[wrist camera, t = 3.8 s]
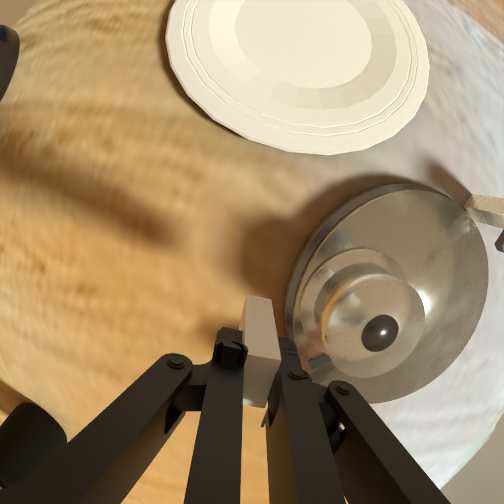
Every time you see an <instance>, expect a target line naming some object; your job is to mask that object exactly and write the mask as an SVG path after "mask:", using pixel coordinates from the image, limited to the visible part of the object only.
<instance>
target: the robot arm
mask: <svg viewBox="0 0 504 504" xmlns="http://www.w3.org/2000/svg"><path fill="white" fill-rule="evenodd" d="M18 54H19V37H18V34H17V32H16V31H15V30H13V29H11V28H9V27H7V26H5V25H0V100H1V99H2V97H3V95H4V93H5V91H6V89H7V87H8V84H9V82H10V80H11V77H12V75H13V72H14V69H15V66H16V62H17V59H18ZM267 400H268V408H267V411H266V414H265V416H264V419H263V421H262V424H261V427H264V424H265V423H266V442H267V462H268V482H269V502H270V504H346V502H345V498H346V500H347V501H348V503H349V504H451V503H450V502H449V501H448V500H447V498H446V497H445V496H444V495H443V494H442V492H441V491H440V490H439V489H438V488H437V486H436V485H435V484H434V483H433V482H432V480H431V479H430V478H429V477H428V476H427V474H426V473H425V472H424V471H423V470H422V468H421V467H420V466H419V465H418V463H417V462H416V461H415V460H414V459H413V457H412V456H411V455H410V454H409V453H408V451H407V450H406V449H405V448H404V447H403V445H402V444H401V443H400V442H399V440H398V439H397V438H396V437H395V436H394V434H393V433H392V432H391V431H390V429H389V428H388V427H387V426H386V425H385V423H384V422H383V421H382V420H381V419H380V417H379V416H378V415H377V414H376V412H375V411H374V410H373V409H372V408H371V406H370V405H369V404H368V403H367V401H366V400H365V399H364V398H363V397H362V395H361V394H360V393H359V392H358V390H357V389H356V388H355V387H354V386H353V385H352V384H350V383H348V382H346V381H342V380H334V381H331V382H330V383H329V385H328V387H326V386H323V385H320V384H317V383H314V382H312V379H311V376H310V374H309V373H308V372H307V371H305V370H304V369H302V365H301V362H300V358H299V354H298V352H297V347H296V344H295V343H294V342H293V341H292V340H291V339H286V338H281V337H277V331H276V325H275V319H274V313H273V307H272V302H271V299H267V298H262V297H257V296H252V295H246V299H245V303H244V307H243V311H242V316H241V320H240V324H239V328H238V330H235V329H230V328H225V327H223V328H221V329H220V330H219V331H218V334H217V339H216V343H215V347H214V352H213V357H212V360H211V361H210V362H208V363H206V364H201V365H193V364H192V361H191V360H190V359H189V358H187V357H186V356H184V355H181V354H176V353H170V354H165V355H163V356H162V357H160V358H159V359H158V360H157V361H156V362H155V363H154V364H153V365H152V366H151V367H150V368H149V369H148V370H147V371H145V372H144V373H143V374H142V375H141V376H140V377H139V378H138V379H137V380H136V381H135V382H134V383H133V384H132V385H130V386H129V387H128V388H127V389H126V390H125V391H124V392H123V393H122V394H121V395H120V396H119V397H118V398H116V399H115V400H114V401H113V402H112V403H111V404H110V405H109V406H108V407H107V408H106V409H105V410H103V411H102V412H101V413H100V414H99V415H98V416H97V417H96V418H95V419H94V420H93V421H91V422H90V423H89V424H88V425H87V426H86V427H85V428H84V429H83V430H82V431H81V432H79V433H78V434H77V435H76V436H75V437H74V438H73V439H72V440H71V441H69V442H68V443H67V444H66V445H65V446H64V447H63V448H62V449H61V450H60V451H58V452H57V453H56V454H55V455H54V456H53V457H52V458H51V459H49V460H48V461H47V462H46V463H45V464H44V465H43V466H42V467H41V468H39V469H38V470H37V471H36V472H35V473H34V474H33V475H32V476H30V477H29V478H28V479H27V480H26V481H25V482H23V483H20V484H16V485H13V486H10V487H7V488H3V489H0V504H121V502H122V501H123V500H124V498H125V497H126V496H127V494H128V493H129V492H130V490H131V489H132V488H133V486H134V485H135V484H136V482H137V481H138V480H139V478H140V477H141V476H142V474H143V473H144V472H145V470H146V469H147V467H148V466H149V465H150V463H151V462H152V461H153V459H154V458H155V456H156V455H157V454H158V452H159V451H160V450H161V448H162V447H163V445H164V444H165V443H166V441H167V440H168V438H169V437H170V436H171V434H172V433H173V431H174V430H175V428H176V427H177V426H178V424H179V423H180V421H181V420H182V418H183V417H184V416H185V413H186V411H201V415H200V420H199V425H198V430H197V436H196V441H195V446H194V451H193V456H192V461H191V467H190V472H189V477H188V483H187V488H186V493H185V499H184V504H240V484H241V448H242V415H243V405H247V406H253V407H260V408H265V406H266V403H267ZM341 423H342V424H343V426H344V427H345V429H344V430H342V429H341V427H340V425H341ZM344 496H345V498H344Z"/></svg>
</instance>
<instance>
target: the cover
mask: <svg viewBox="0 0 504 504" xmlns="http://www.w3.org/2000/svg"><path fill="white" fill-rule="evenodd" d="M299 313H300V319H301V323H302V326H303V329H304V331H305V334H306V336H307V337H308V339H309V340H310V342H311V343H312V344H313V345H314V346H315V347H316V348H317V349H319V350H320V351H322V352H324V353H326V354H328V355H329V357H330V359H331V361H332V363H333V364H334V365H335V367H336V368H338V369H339V370H340V371H341V372H343V373H345V374H347V375H349V376H353V377H358V378H367V377H374V376H378V375H381V374H384V373H386V372H388V371H390V370H392V369H393V368H395V367H396V366H398V365H399V364H400V363H402V362H403V361H404V360H405V359H406V358H407V357H408V356H409V355H410V354H411V352H412V351H413V350H414V348H415V347H416V345H417V343H418V341H419V340H420V337H421V335H422V332H423V329H424V324H425V308H424V304H423V301H422V299H421V297H420V295H419V294H418V292H417V291H416V290H415V289H414V288H412V287H411V286H410V285H408V282H407V279H406V276H405V274H404V272H403V270H402V269H401V267H400V266H399V265H398V264H397V262H396V261H395V260H393V259H392V258H391V257H389V256H387V255H386V254H384V253H382V252H380V251H378V250H375V249H372V248H366V247H355V248H349V249H345V250H342V251H340V252H337V253H335V254H333V255H331V256H330V257H328V258H327V259H325V260H324V261H323V262H322V263H321V264H320V265H318V266H317V268H316V269H315V270H314V271H313V272H312V274H311V275H310V276H309V278H308V280H307V281H306V283H305V285H304V288H303V291H302V293H301V298H300V305H299Z"/></svg>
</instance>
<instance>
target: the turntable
mask: <svg viewBox="0 0 504 504" xmlns="http://www.w3.org/2000/svg"><path fill="white" fill-rule="evenodd" d="M355 247H366V248H372V249H375V250H378V251H380V252H382V253H384V254H386V255H387V256H389V257H391V258H392V259H393V260H395V261H396V262H397V264H398V265H399V266H400V267H401V269H402V270H403V272H404V274H405V276H406V279H407V282H408V285H410V286H411V287H412V288H414V289H415V290H416V291H417V292H418V294H419V295H420V297H421V299H422V301H423V304H424V308H425V324H424V329H423V332H422V335H421V337H420V340H419V341H418V343H417V345H416V347H415V348H414V350H413V351H412V352H411V354H410V355H409V356H408V357H407V358H406V359H405V360H404V361H403V362H402V363H400V364H399V365H398V366H396V367H395V368H393V369H392V370H390V371H388V372H386V373H384V374H381V375H378V376H374V377H367V378H358V377H353V376H349V375H347V374H345V373H343V372H341V371H340V370H339V369H338V368H336V367H335V365H334V364H333V363H332V361H331V359H330V357H329V355H328V354H326V353H324V352H322V351H320V350H319V349H317V348H316V347H315V346H314V345H313V344H312V343H311V342H310V340H309V339H308V337H307V336H306V334H305V331H304V329H303V326H302V323H301V319H300V313H299V305H300V298H301V293H302V291H303V288H304V285H305V283H306V281H307V280H308V278H309V276H310V275H311V274H312V272H313V271H314V270H315V269H316V268H317V266H318V265H320V264H321V263H322V262H323V261H324V260H325V259H327V258H328V257H330V256H331V255H333V254H335V253H337V252H340V251H342V250H345V249H349V248H355ZM487 288H488V259H487V254H486V249H485V245H484V242H483V239H482V236H481V234H480V232H479V230H478V228H477V226H476V224H475V223H474V221H473V220H472V219H471V217H470V216H469V215H468V213H467V212H466V211H465V210H464V209H463V208H462V207H461V206H459V205H458V204H456V203H455V202H454V201H452V200H451V199H448V198H446V197H444V196H442V195H440V194H436V193H433V192H429V191H419V190H399V191H392V192H389V193H385V194H381V195H378V196H376V197H374V198H371V199H369V200H367V201H365V202H363V203H362V204H360V205H358V206H357V207H355V208H353V209H352V210H351V211H349V212H348V213H347V214H346V215H344V216H343V217H342V218H341V219H339V220H338V221H337V222H336V224H335V225H334V226H333V227H332V228H331V229H330V230H329V231H328V232H327V233H326V234H325V236H324V237H323V238H322V239H321V241H320V242H319V243H318V245H317V246H316V248H315V249H314V251H313V253H312V254H311V256H310V258H309V259H308V261H307V263H306V265H305V268H304V270H303V272H302V274H301V276H300V279H299V283H298V286H297V289H296V292H295V298H294V303H293V311H292V328H293V337H294V341H295V344H296V347H297V352H298V354H299V358H300V362H301V365H302V369H304V370H305V371H307V372H308V373H309V374H310V376H311V379H312V380H313V381H314V382H315V383H317V384H320V385H323V386H326V387H328V385H329V383H330V382H331V381H334V380H342V381H346V382H348V383H350V384H352V385H353V386H354V387H355V388H356V389H357V390H358V392H359V393H360V394H361V395H362V397H363V398H364V399H365V400H366V401H367V403H368V404H372V403H382V402H387V401H392V400H395V399H398V398H401V397H404V396H406V395H409V394H411V393H413V392H415V391H417V390H419V389H420V388H422V387H424V386H426V385H427V384H428V383H430V382H431V381H433V380H434V379H435V378H437V377H438V376H439V375H440V374H441V373H443V372H444V371H445V370H446V369H447V368H448V367H449V366H450V365H451V364H452V363H453V362H454V360H455V359H456V358H457V357H458V356H459V354H460V353H461V352H462V350H463V349H464V347H465V346H466V344H467V343H468V341H469V340H470V338H471V336H472V334H473V333H474V331H475V329H476V326H477V324H478V322H479V319H480V317H481V314H482V311H483V308H484V304H485V299H486V295H487Z"/></svg>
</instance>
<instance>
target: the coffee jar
mask: <svg viewBox="0 0 504 504" xmlns="http://www.w3.org/2000/svg"><path fill="white" fill-rule="evenodd" d="M66 444H67V437H66V434H65V432H64V430H63V429H62V428H61V426H60V425H59V424H58V423H57V422H56V421H55V420H54V418H53V417H51V416H50V415H49V414H48V413H47V412H45V411H44V410H42V409H41V408H39V407H38V406H35V405H33V404H29V403H26V404H20V405H18V406H17V407H16V408H15V409H14V410H13V411H12V413H11V414H10V415H9V416H8V417H7V419H6V420H5V421H4V422H3V423H2V425H1V426H0V489H3V488H7V487H10V486H13V485H16V484H20V483H23V482H25V481H26V480H27V479H28V478H29V477H30V476H32V475H33V474H34V473H35V472H36V471H37V470H38V469H39V468H41V467H42V466H43V465H44V464H45V463H46V462H47V461H48V460H49V459H51V458H52V457H53V456H54V455H55V454H56V453H57V452H58V451H60V450H61V449H62V448H63V447H64V446H65V445H66Z"/></svg>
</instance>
